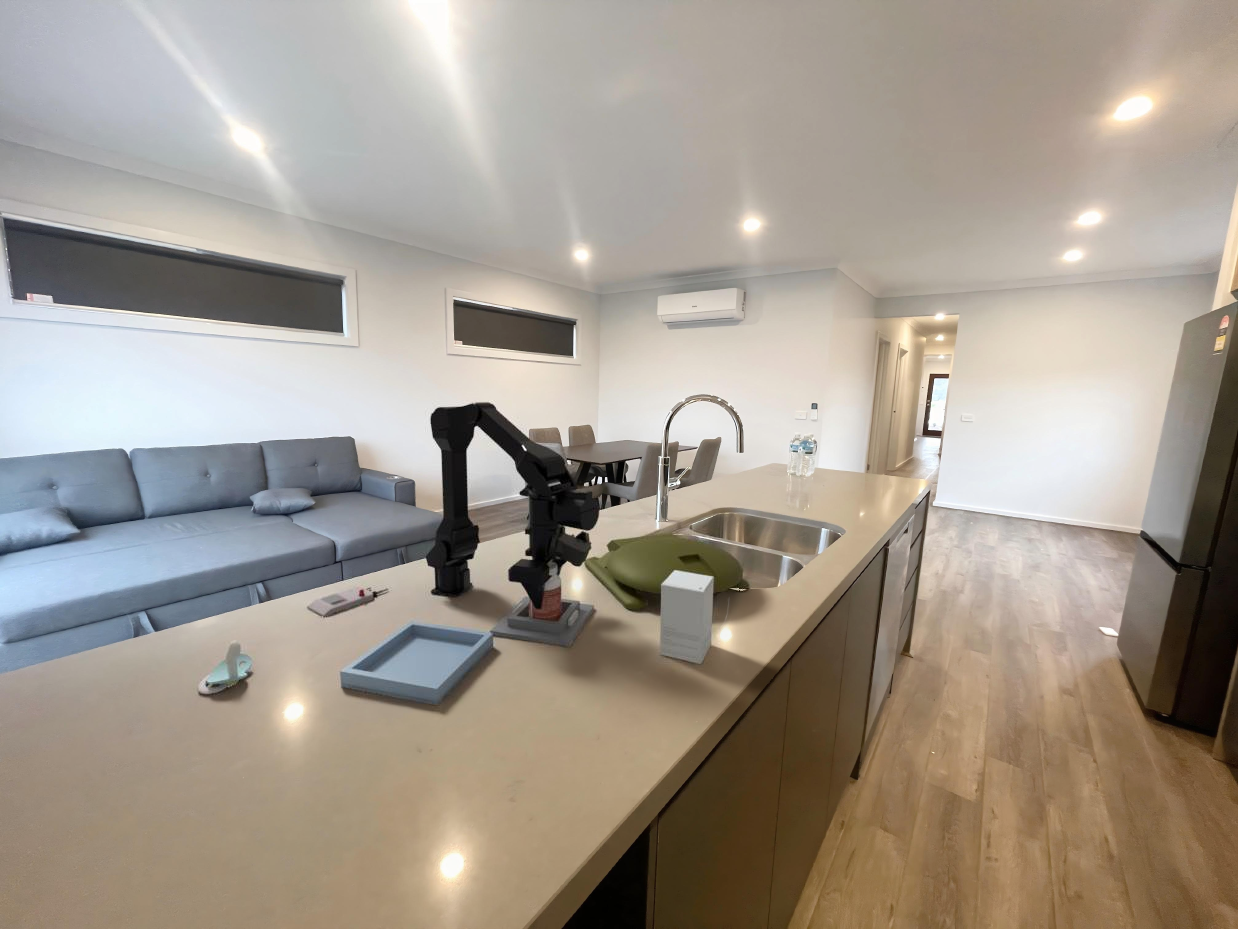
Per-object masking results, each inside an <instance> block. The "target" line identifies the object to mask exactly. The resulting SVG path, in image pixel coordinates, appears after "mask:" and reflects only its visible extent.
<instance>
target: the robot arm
mask: <svg viewBox="0 0 1238 929" xmlns="http://www.w3.org/2000/svg"><path fill="white" fill-rule="evenodd" d="M429 421H430V429H431V436H432V439H433V440H434V442H435V443H436V444H437V445H436V446H438V447H439V450H440V453H441V454H440V456H441V481H442V482H441V484H442V509H443V510H442V511H443V512H442V514H443V517H442V520H441V522H440V524H439V525H438V528H437V529H436V532H435V540H434V545H433V547H432V548H431V549H430V551H429V552H428V553H427V554H426V556H425V559H426V564H427V566H428V567H431V568H433V569H434V586H435V587H434V588H432V589H431V590H430V593H431V594H436V595H444V596H450V597H459V596H460V595H461V594H463V593H465V591H466V590H468V589H469V588H471V587H472V586H473V582H471V569H470V568H469V561H470V560H473V559H474V557H475V554H476V551H477V550H478V546H479V544H480V543H481V541H480V536H479V533H480V532H479V531H480V528H479V525H478V524H474V522H472V520H471V518H470V516H469V499H468V498H469V496H468V494H469V493H468V492H469V491H468V458H467V457H468V456H467V454H468V453H467V451H468V449H469V446H470V444H471V442H472V441H473V439H474V437H475V436H474V435H475V428H476V427H477V428H479V429H480V430H481V431H482V432H483V433H484V434H485V435H486V436H487V437H488V438H490V439H491V440H492V441H493V442H494V443H495V444H497V446H498V447H499V448H500V449H501V450H503V451H504V453H506V454H507V455H508V456H509V457H510V458H511V459H512V460H513V462H514V465H515V469H516V472H517V473H518V475H519V476H520V477H521V478H522V480H523V481H524V482H525V484H526V485H525V487H524V488H523V489H521V490H520V491H519V496H521V497H527V498H528V526H527V527H526V528H525V529H524V535H528V540H529V541H528V543H529V544H528V548H527V549H525V550H524V551H525V552H524V555H525V557H531V559H526V558H520V559H519V560H517V561H516V562H515V563H514V564H512V566H511V567H509V569H507V573H508V575H507V579H508V580H507V581H508V582H510V583H520V584H521V586H522V587H523V589H524V591H525V592H526V595H527V597H529V598H530V600H531V601H532V603H533V605H534V607H535V608H536V609H541V608H542V602H543V595H544V587H545V583H546V582H547V581H548V580H549V579H550V578H551V577H552V575H549V566H548V564H549V563H550V562H553V563H556V564H557V569H558V571H557V575H558V576H559V577H560V575H561V570H562V568H563V566H564V565H565V564H566V563H567V562H568V563H570V564H571V565H572V566H574V567H577V568H580V567H582V565H583V564H584V562H585V561H586V559H588V558H587V557H588V556H589V553H590V551H591V550H592V542H591V540H590V533H588V532H587V531H589V532H590V531H592V529H594V528H595V526H596V525H597V523H598V520H599V517H600V507H599V505H598V502H597V501H596V499H595V498H593V491H592V490H586V489H585V490H578V486H577V483H576V482H575V480H574V479H573V477H572V475H571V474H570V473H571V472H569V469H568V468H567V466H566V461H565V459H564V457H563V456H562V455H561V454H560V453H558V452H556V451H555V450H552V449H551V448H550V447H547V446H545V445H541V444H539V443H537V442H535V441H533V440H532V439H530V437H529V436H527V435H526V434H525V433H524V432H523V431H521V429H519V428H518V427H517V426H516V425H515V424H513V423H512V422H511V421H510V420H509V419H508V418H507V417H506V416H504V415H503V414H502V413H501V412H500V411H499V410H498V409H497V407H496V405H495V404H493V403H491V402H489V401H485V402H483V401H482V402H481V401H480V402H477V401H475V402H471V403H469V404H466V405H460V406H438V407H436V408H435V409H434V411H433V412H431V415H430V419H429ZM552 484H553V485H552ZM566 527H567V528H570V529H571V528H572V529H577V530H580V532H579V533H578V534H577V535H576V536H575V534H573V533H572V534H567V533H566ZM581 530H582V531H581Z"/></svg>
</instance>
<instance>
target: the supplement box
mask: <svg viewBox="0 0 1238 929" xmlns="http://www.w3.org/2000/svg"><path fill="white" fill-rule="evenodd" d="M713 582H714V577H713V576H706V575H700V574H694V573H688V572H683V571H677V570H674V571H673V573H672V574H671V575H670V576H669V577H668V578H667V579H666V580H665V581H664V582H663V583H662V584H661V594H660V626H659V627H660V628H659V629H660V630H659V631H660V634H659V635H660V636H659V637H660V638H659V641H660V642H659V651H660V652H659V655H661V656H666V657H670V658H673V659H678V660H682V661H686V662H689V663H693V664H697V665H701V664H702V663H703V661H704V659H705V657H706V656H707V653H708V651H709V649H710V647H711V645H712V630H713V629H712V628H713V606H714V605H713V604H714V593H713Z"/></svg>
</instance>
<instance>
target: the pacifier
mask: <svg viewBox="0 0 1238 929" xmlns="http://www.w3.org/2000/svg"><path fill="white" fill-rule="evenodd" d="M241 647H242V646H241V644H240V642H239V641H238V640H231V642H230V643H229V646H228V649H227V652H226V656H225V659H224V660H222V661H221V662H220V663H218V665H217V666H216V667H215V668H214V669H212V672H211V673H210V674H208V675H206V676H205V677H204V678H203V679H202V680H201V681H200V682H199V684H198V692H199V693H200V694H201V695H212V693H213V694H215V693H218V692H221V691H223V690H225V689H226V687H228V686H231V685H233V684H235V683H237V682H238V681H239V680H240V679H241V680H242V679H244V678H247V677H248V673H247V672H249V670H251V667H252V663H253V659H252V658H251V656H250V655H249V654H245V653H241V651H242V648H241ZM244 663H245V664H244ZM243 664H244V665H243ZM240 665H242V666H240ZM241 680H240V681H241ZM240 681H239V682H240ZM207 682H208V683H207ZM239 682H238V683H239ZM206 683H207V685H208V684H209V685H218V686H216V687H215V686H214V687H208V686H207V685H206ZM238 683H237V684H238ZM235 685H236V684H235ZM231 687H232V686H231ZM228 688H229V687H228Z"/></svg>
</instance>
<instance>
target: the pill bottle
mask: <svg viewBox="0 0 1238 929" xmlns="http://www.w3.org/2000/svg"><path fill="white" fill-rule="evenodd" d="M548 566H549V575H552V577H551V578H550V579H549V580H548V581H547V582H546V583H545V587H544V595H543V602H542V608H541V609H536V608H535V607H534V605H533V603H532V601H531V600H530V598H529V616H528V618H535V619H542V620H549V621H556V622H558V620H559V619H560V618H561V617H562V615H563V613H562V608H561V599H562V579H561V577H560V575H559V576H558V575H557V571H558V569H557V564H556V563H553V562H550V563H549V564H548Z"/></svg>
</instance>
